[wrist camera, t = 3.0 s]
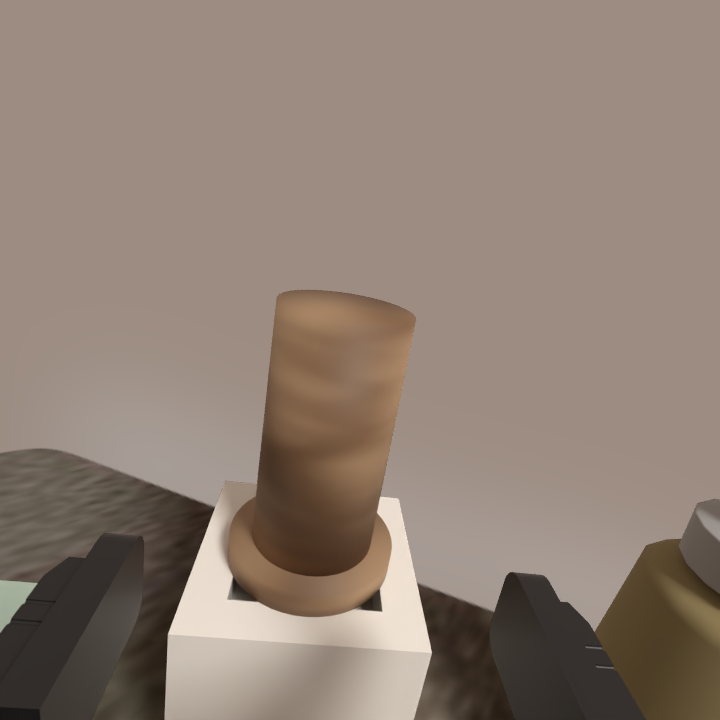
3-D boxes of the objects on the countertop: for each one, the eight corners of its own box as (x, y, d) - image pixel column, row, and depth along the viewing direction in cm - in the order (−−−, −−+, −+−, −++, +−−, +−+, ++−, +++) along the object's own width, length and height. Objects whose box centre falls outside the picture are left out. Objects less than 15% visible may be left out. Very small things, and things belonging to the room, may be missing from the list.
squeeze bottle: (731, 798, 21) (951, 444, 16) (768, 1052, 15) (1176, 592, 9) (547, 690, 25) (672, 370, 19) (508, 853, 18) (683, 436, 13)
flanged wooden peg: (208, 635, 17) (232, 315, 14) (241, 516, 24) (264, 276, 20) (391, 648, 18) (463, 347, 14) (376, 529, 24) (422, 300, 21)
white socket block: (161, 791, 18) (168, 634, 16) (215, 602, 27) (225, 480, 24) (391, 800, 19) (431, 652, 17) (373, 615, 28) (398, 498, 25)
